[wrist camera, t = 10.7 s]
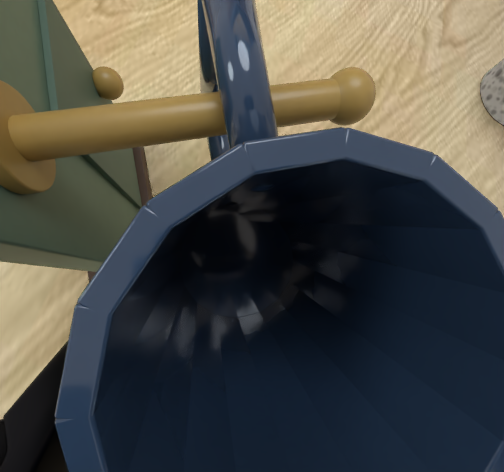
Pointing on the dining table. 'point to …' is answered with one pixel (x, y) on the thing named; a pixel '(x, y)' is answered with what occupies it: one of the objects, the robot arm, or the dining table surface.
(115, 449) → the mug
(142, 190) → the door
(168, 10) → the dining table surface
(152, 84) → the dining table surface
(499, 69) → the mug
